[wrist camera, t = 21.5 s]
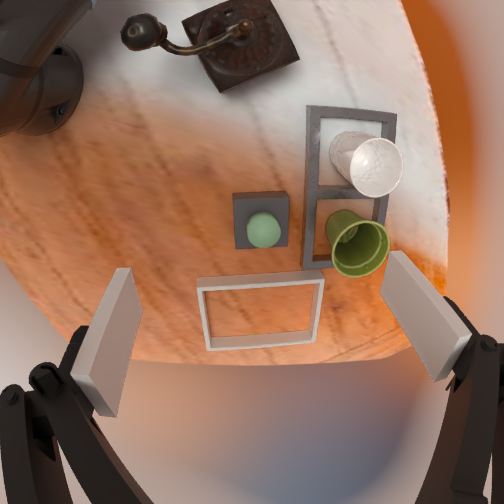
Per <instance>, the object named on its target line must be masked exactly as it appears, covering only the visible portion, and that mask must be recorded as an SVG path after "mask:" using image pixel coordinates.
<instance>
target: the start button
mask: <svg viewBox="0 0 504 504" xmlns="http://www.w3.org/2000/svg"><path fill="white" fill-rule="evenodd" d="M246 228H247V234H248V239H249V241H250V242H251V243H252V244H253V245H254V246H256V247H259V248H268V247H271V246H273V245H274V244H275V243H276V242H277V241H278V240H279V238H280V235H281V230H280V227H279V224H278V222H277V219H276V218H275V216H274V215H272V214H271V213H269V212H264V211H262V212H257V213H255V214H253V215H252V216H251V217H250V218H249V219H248V221H247V225H246Z"/></svg>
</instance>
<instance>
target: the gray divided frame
mask: <svg viewBox="0 0 504 504" xmlns="http://www.w3.org/2000/svg"><path fill="white" fill-rule="evenodd" d="M320 116H321V117H338V118H352V119H363V120H373V121H382V133H381V138H384V139H387V140H389V141H391V142H393V143H394V144H395V136H396V123H397V114H394V113H389V112H382V111H374V110H365V109H355V108H345V107H332V106H315V105H307V109H306V160H305V187H304V209H303V227H302V244H301V259H300V265H301V267H302V270H310V269H323V268H335V267H334V265H333V262H332V256H331V254H329V255H313V245H314V233H315V220H316V206H317V199H375V202H374V209H373V216H372V221H375V222H377V223H379V224H381V225H382V226H383V227H384V223H385V218H386V211H387V205H388V198H389V193H388V194H387V195H384V196H382V197H368V196H365V195H363V194H362V193H360V192H359V191H358V190H357V189H356V188H355V187H354V186H318V171H319V148H320Z"/></svg>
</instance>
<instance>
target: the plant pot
mask: <svg viewBox="0 0 504 504" xmlns="http://www.w3.org/2000/svg"><path fill="white" fill-rule="evenodd" d="M354 228H355V231H354V233H353V234H352V235H350V234H351V232H352V231H353V229H354ZM326 234H327V237H328V240H329V242H330V245H331V248H332V254H331V256H332V262H333V265H334V267H335V268H336V270H337V271H338V272H339V273H341V274H342V275H344V276H347V277H353V278H354V277H355V278H356V277H362V276H365V275H368V274H370V273H372V272H373V271H374V270H376V269H377V268H378V267H379V266H380V265H381V264H382V263H383V261H384V260H385V258H386V256H387V254H388V251H389V247H390V238H389V235H388V232H387V231H386V229H385V228H384V227H383V226H382V225H381V224H379V223H377V222H375V221H370V220H365V219H363V218H362V217H360V216H359V215H357V214H355V213H354V212H352V211H350V210H341V211H338V212H335V213H334V214H332V215H331V216H330V218H329V219H328V221H327V223H326Z"/></svg>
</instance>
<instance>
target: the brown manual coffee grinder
mask: <svg viewBox="0 0 504 504" xmlns="http://www.w3.org/2000/svg"><path fill="white" fill-rule="evenodd" d="M182 25H183V27H184V30H185V33H186V35H187V37H188V38H189V40H190V42H191V44H192V46H190V47H179V46H176V45H174V44H172V43H171V42H170V41H168V40H167V39H166V38H167V34H168V32H167V28H166V26H165V25H163V24H162V23H160V22H158V19H157V18H156V17H155V16H152V15H150V14H148V13H144V14H139V15H135V16H132V17H130V18H128V20H127V21H126V23H125V25H124V26H123V28H122V30H121V32H120V33H121V39H122V43H123V44H124V45H125V46H127V47H128V48H129V49H130V50H132V51H141V50H145V49H150V48H151V47H156V46H161V47H162V48H163V49H165V50H166V51H167V52H170V53H173V54H176V55H182V56H190V55H197V56H198V58H199V60H200V61H201V63H202V65H203V67H204V69H205V71H206V73H207V74H208V76H209V78H210V79H211V81H212V82H213V84H214V85H215V86H216V88H217V89H218V91H219V92H220V93H222V92H224V91H227V90H231V89H233V88H235V87H237V86H239V85H242V84H244V83H246V82H249V81H251V80H253V79H255V78H258V77H260V76H262V75H265V74H267V73H270V72H272V71H274V70H277V69H279V68H281V67H284V66H286V65H288V64H291V63H293V62H296V61H298V60H300V58H299V56H298V53H297V51H296V48H295V46H294V44H293V42H292V40H291V38H290V36H289V34H288V32H287V30H286V28H285V26H284V24H283V22H282V20H281V19H280V17H279V15H278V13H277V11H276V9H275V7H274V6H273V4H272V2H271V1H270V0H228V1H226V2H223V3H220V4H218V5H215V6H213V7H211V8H208V9H206V10H204V11H201V12H199V13H197V14H195V15H193V16H191V17H189V18H187V19H185V20H183V21H182Z"/></svg>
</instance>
